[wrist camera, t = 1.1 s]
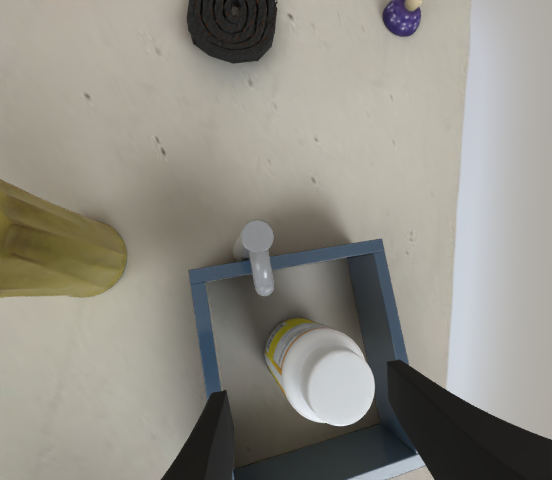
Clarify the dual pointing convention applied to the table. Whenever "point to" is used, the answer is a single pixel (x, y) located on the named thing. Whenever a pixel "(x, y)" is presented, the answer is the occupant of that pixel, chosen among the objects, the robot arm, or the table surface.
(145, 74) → the table surface
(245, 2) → the hairbrush
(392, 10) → the toy lamp
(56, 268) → the vase
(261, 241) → the open box
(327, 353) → the supplement bottle
